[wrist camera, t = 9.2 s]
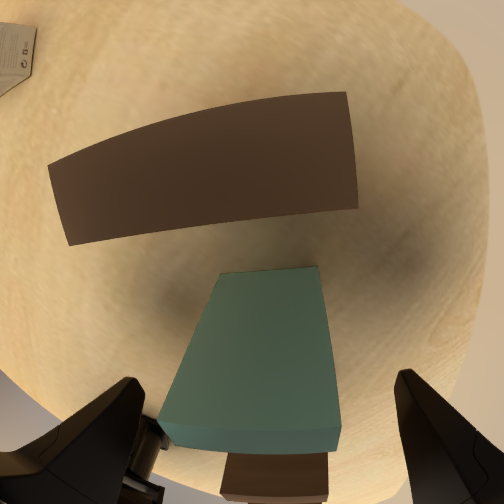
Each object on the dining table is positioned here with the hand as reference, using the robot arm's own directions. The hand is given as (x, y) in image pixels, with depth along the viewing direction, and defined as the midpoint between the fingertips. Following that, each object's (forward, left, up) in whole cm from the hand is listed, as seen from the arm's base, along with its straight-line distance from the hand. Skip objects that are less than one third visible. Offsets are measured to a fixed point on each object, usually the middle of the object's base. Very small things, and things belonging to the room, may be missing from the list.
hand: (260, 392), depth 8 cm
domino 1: (+6, +2, -7) cm, 10 cm away
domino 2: (0, 0, -7) cm, 7 cm away
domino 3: (-7, -2, -7) cm, 10 cm away
